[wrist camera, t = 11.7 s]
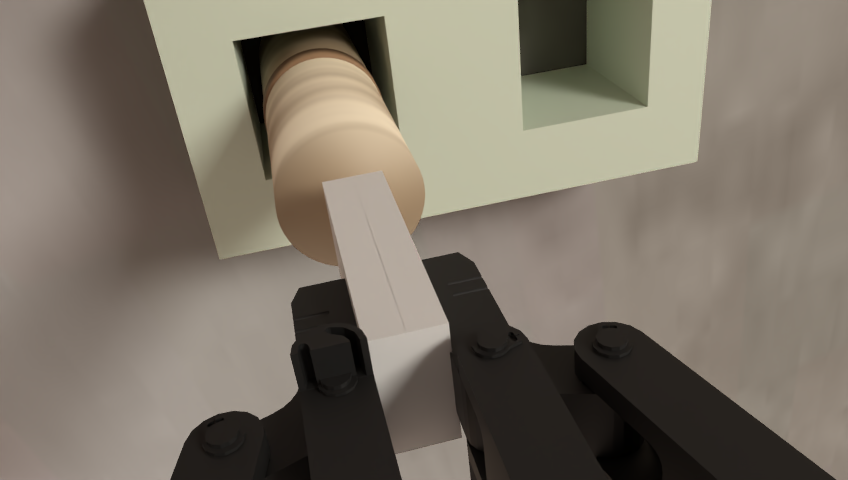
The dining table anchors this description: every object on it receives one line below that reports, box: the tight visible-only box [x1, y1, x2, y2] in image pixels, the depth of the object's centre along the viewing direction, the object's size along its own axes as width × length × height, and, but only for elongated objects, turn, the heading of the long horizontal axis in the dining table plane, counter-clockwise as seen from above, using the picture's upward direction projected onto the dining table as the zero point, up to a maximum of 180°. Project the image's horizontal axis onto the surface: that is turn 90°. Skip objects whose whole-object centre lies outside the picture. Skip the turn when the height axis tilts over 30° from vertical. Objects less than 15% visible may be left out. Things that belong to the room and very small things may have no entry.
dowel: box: [259, 23, 425, 266], centre depth 26 cm, size 4×4×14 cm
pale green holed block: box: [144, 0, 712, 259], centre depth 30 cm, size 11×20×6 cm, turn 97°
